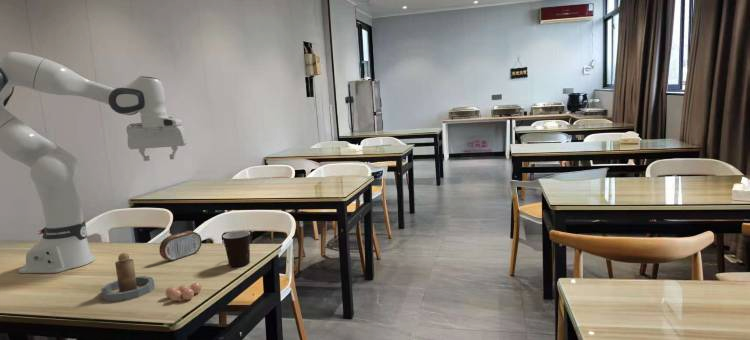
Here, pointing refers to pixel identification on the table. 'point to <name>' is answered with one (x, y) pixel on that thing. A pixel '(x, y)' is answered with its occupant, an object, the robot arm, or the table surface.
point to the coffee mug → (237, 248)
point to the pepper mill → (125, 273)
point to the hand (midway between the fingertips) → (159, 160)
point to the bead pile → (183, 292)
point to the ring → (128, 294)
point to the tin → (180, 245)
